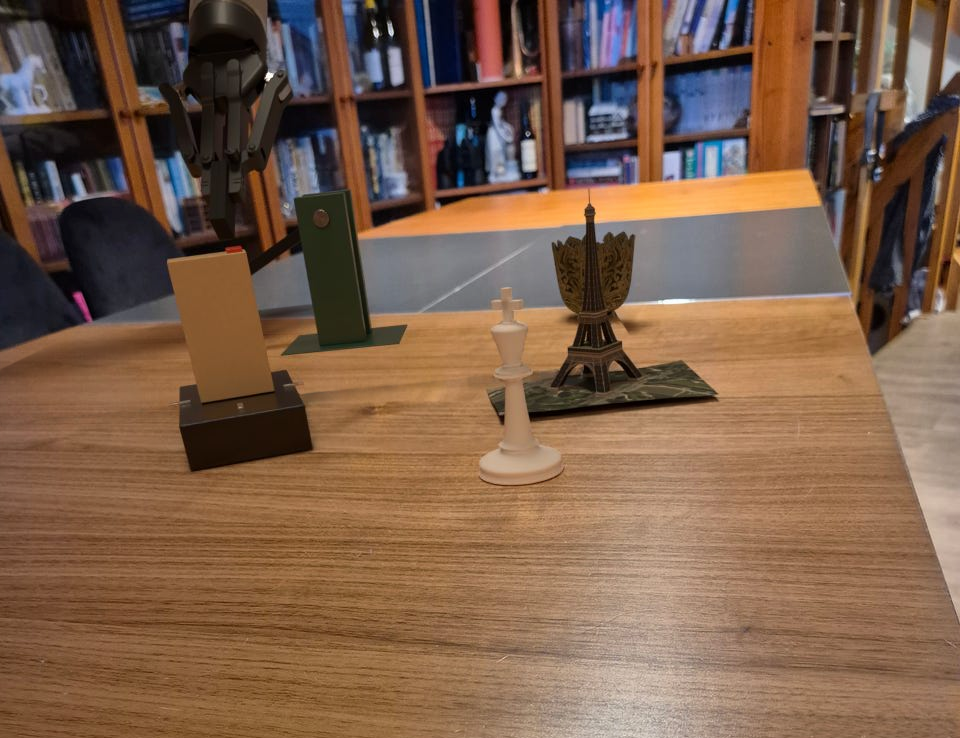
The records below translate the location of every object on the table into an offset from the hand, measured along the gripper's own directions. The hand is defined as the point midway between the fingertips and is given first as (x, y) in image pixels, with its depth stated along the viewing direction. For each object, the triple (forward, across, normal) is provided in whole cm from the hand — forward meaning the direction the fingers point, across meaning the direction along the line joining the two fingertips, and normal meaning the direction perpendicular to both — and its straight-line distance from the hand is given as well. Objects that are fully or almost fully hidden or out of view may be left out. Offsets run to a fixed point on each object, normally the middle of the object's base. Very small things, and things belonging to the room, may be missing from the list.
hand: (222, 229), depth 86 cm
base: (+29, -7, +12) cm, 32 cm away
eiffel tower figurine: (+27, -32, +10) cm, 43 cm away
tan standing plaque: (+26, -7, +14) cm, 31 cm away
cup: (+10, -34, -6) cm, 36 cm away
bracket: (+9, -10, -7) cm, 16 cm away
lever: (+3, -6, -1) cm, 7 cm away
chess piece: (+38, -26, +21) cm, 50 cm away
